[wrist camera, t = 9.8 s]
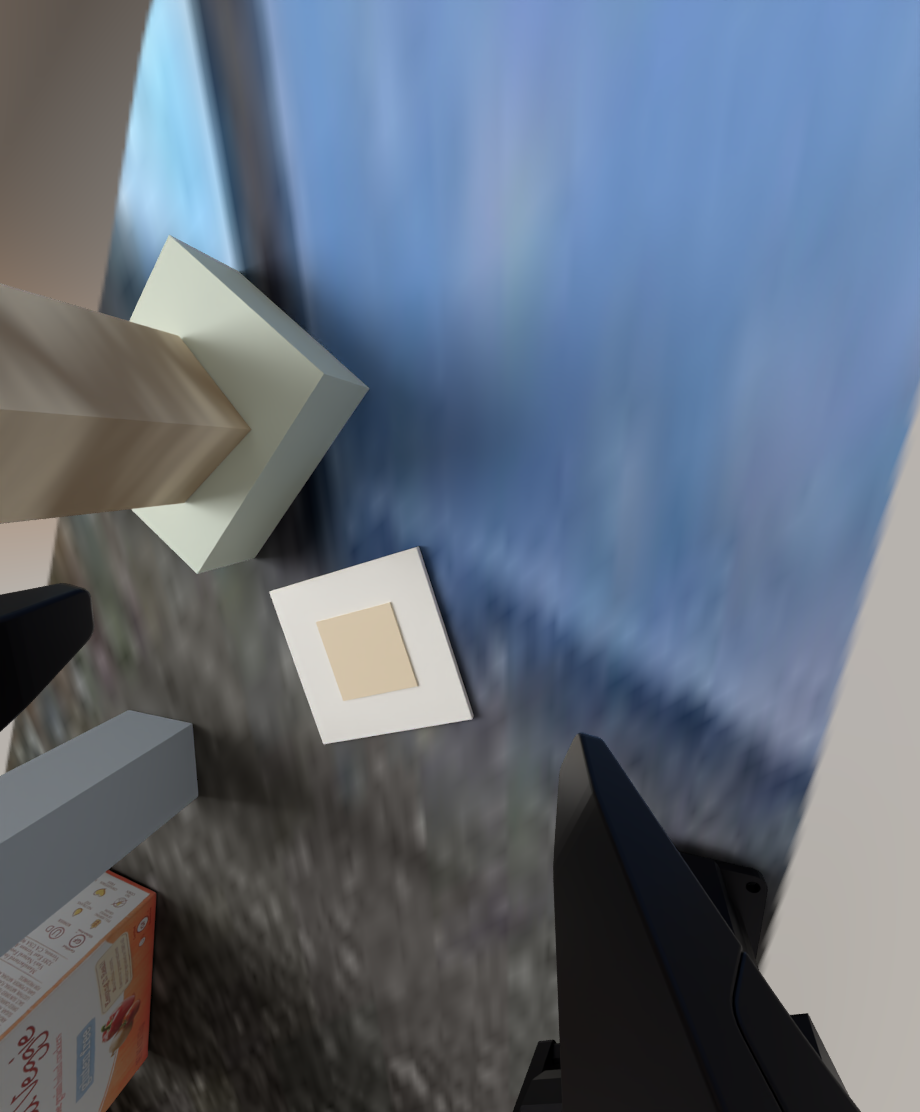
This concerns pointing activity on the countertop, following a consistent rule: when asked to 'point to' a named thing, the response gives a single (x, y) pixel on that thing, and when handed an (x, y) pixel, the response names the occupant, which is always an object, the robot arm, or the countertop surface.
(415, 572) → the card
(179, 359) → the beech pillar
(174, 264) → the sage slab
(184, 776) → the grey-blue pillar
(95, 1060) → the cracker box
